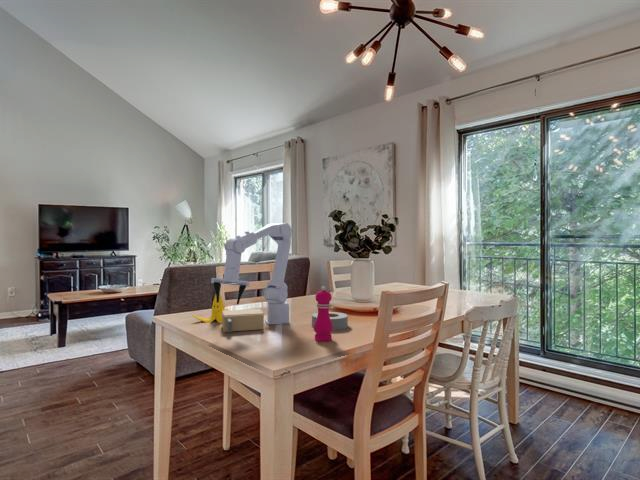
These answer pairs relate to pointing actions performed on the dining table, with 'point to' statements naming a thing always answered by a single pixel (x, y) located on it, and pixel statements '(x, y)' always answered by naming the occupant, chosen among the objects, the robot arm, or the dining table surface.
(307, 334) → the dining table surface
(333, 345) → the dining table surface
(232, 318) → the front flap
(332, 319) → the tape roll
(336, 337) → the dining table surface
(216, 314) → the banana peel
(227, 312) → the carton
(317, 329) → the pepper mill
